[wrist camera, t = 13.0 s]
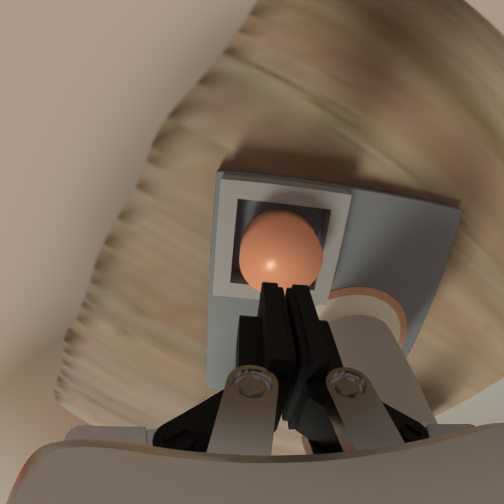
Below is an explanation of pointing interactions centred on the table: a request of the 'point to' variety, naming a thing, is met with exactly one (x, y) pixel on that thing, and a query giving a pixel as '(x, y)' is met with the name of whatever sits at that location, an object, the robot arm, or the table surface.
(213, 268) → the board
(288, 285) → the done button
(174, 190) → the table surface
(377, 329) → the can
